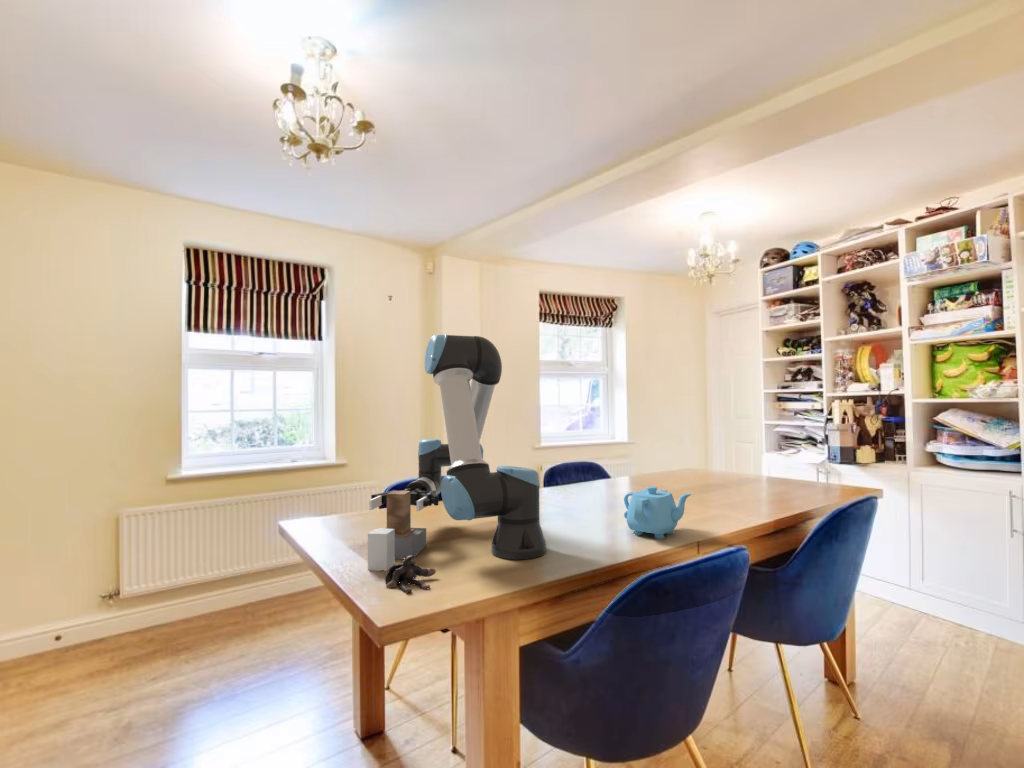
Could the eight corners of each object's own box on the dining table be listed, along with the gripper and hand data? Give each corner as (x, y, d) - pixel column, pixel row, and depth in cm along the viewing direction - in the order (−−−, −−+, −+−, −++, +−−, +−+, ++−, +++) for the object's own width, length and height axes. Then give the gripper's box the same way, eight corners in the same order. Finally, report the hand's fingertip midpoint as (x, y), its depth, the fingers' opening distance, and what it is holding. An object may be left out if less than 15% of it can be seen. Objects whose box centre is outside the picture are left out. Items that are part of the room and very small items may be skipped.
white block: (394, 564, 127) (394, 528, 128) (386, 570, 122) (386, 534, 123) (376, 563, 128) (376, 528, 128) (367, 569, 123) (367, 533, 123)
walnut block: (410, 530, 140) (410, 490, 141) (404, 534, 136) (403, 494, 136) (393, 529, 141) (393, 490, 142) (386, 534, 136) (386, 493, 137)
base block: (426, 545, 143) (426, 527, 143) (411, 558, 131) (411, 538, 131) (386, 544, 145) (386, 526, 145) (368, 557, 133) (368, 537, 133)
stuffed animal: (390, 592, 106) (382, 548, 115) (387, 620, 111) (379, 576, 120) (444, 583, 110) (432, 541, 120) (438, 610, 115) (427, 568, 125)
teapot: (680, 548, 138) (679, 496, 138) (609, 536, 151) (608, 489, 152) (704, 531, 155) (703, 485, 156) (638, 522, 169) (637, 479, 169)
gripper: (458, 504, 154) (438, 520, 133) (382, 502, 158) (351, 518, 137) (458, 480, 155) (437, 492, 134) (382, 479, 158) (351, 491, 137)
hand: (393, 505), depth 135 cm, fingers open, 13 cm apart
